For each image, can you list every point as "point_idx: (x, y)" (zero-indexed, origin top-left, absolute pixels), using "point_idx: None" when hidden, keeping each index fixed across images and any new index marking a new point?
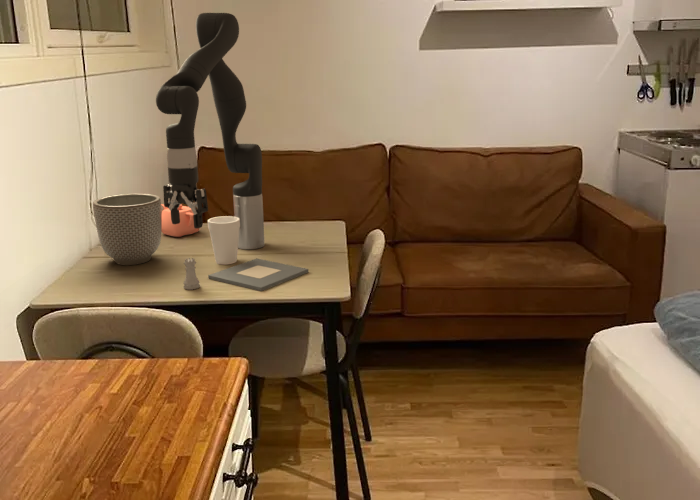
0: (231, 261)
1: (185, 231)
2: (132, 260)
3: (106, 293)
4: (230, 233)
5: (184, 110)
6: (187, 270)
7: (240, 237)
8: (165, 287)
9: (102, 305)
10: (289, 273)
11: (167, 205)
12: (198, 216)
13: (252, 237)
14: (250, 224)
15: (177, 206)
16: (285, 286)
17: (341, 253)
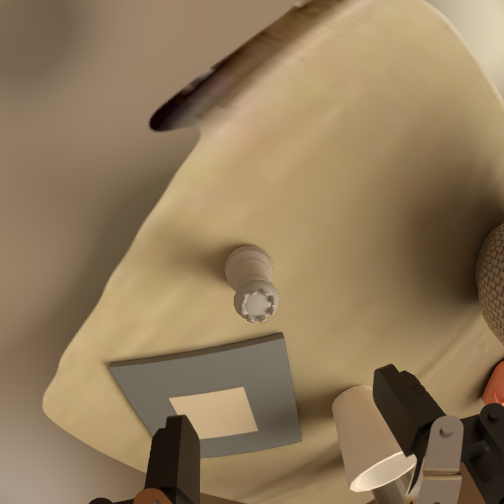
0: (333, 407)
1: (492, 382)
2: (487, 246)
3: (371, 78)
4: (347, 458)
5: None
6: (249, 276)
7: None
8: (305, 212)
9: (288, 23)
10: None
11: (480, 425)
12: (148, 483)
13: None
14: None
15: (420, 468)
16: (116, 402)
17: (229, 499)
